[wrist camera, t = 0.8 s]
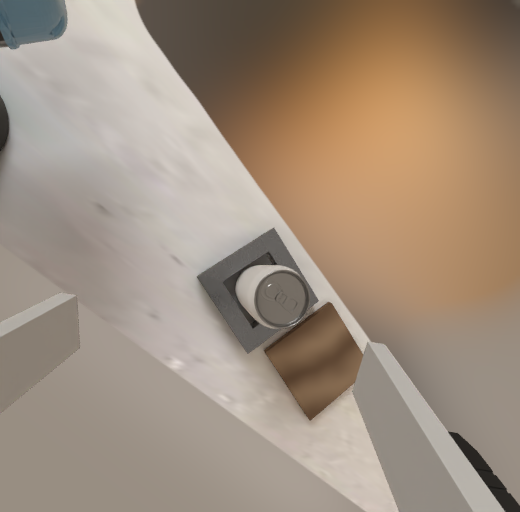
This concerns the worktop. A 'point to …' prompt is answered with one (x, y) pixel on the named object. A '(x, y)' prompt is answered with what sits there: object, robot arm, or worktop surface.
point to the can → (273, 295)
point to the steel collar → (230, 265)
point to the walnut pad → (317, 359)
